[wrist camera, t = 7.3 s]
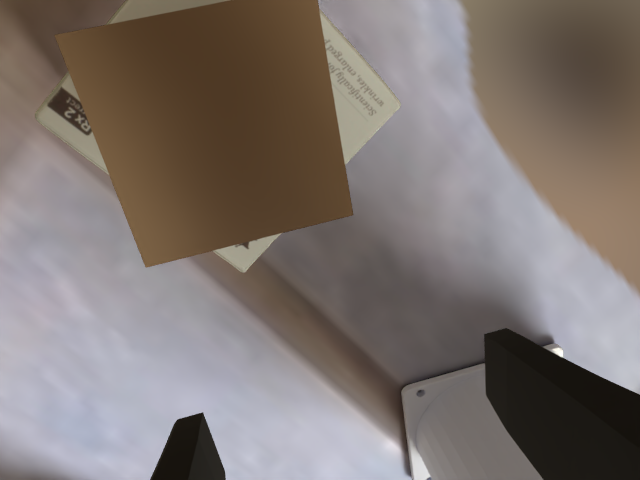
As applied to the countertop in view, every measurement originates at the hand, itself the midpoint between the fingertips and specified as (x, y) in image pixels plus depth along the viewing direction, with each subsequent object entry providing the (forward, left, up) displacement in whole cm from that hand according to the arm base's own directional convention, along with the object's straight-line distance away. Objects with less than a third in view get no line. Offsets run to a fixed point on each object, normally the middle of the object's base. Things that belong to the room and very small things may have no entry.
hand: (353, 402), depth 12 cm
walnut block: (+1, -7, -6) cm, 9 cm away
